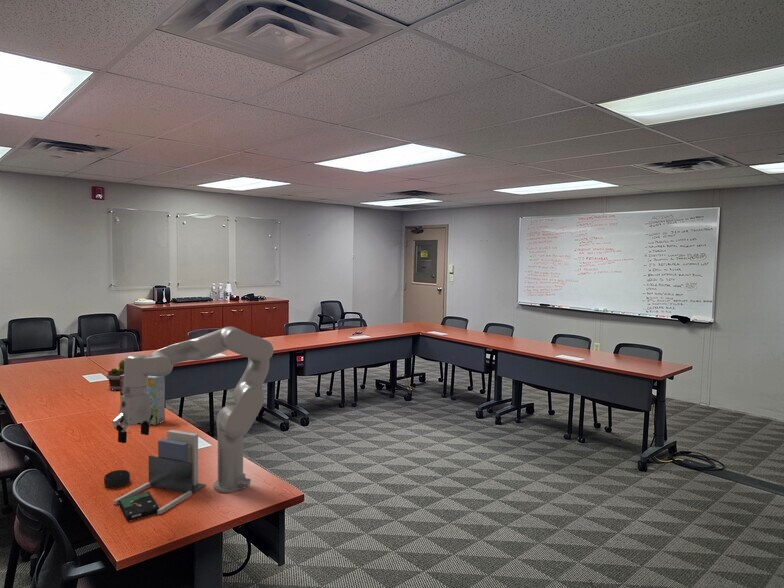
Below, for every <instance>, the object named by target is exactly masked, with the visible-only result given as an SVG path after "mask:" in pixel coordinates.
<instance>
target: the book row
mask: <svg viewBox="0 0 784 588" xmlns="http://www.w3.org/2000/svg"><path fill="white" fill-rule="evenodd" d="M157 455H158V456H157V457H161V458H167V459H173V460H178V461H184V462H189V463H192V486H195V485H197V484H198V483H199V434H198V433H194V432H188V431H184V430H183V431H182V430H176V429H170V430H167V431H166V439H165V438H161V439H159V440H158V441H157Z"/></svg>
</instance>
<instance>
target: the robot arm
mask: <svg viewBox="0 0 784 588" xmlns="http://www.w3.org/2000/svg"><path fill="white" fill-rule="evenodd" d="M226 351H231V352H232V353H235V354H237V355H240V356H242V357H246V358H247V365H246V368H245V370H244V372H243V374H242V375H241V377H240V379H239V380H238V382H237V384H236V386H235V387H234V390H233V392H232V399H233V401H234V402H235V405H231V404H230V405H229V404H228V405H225V406H223V407H222V408H221V409H220V410H219V411H218V413H217V415H216V432H217V433H216V435H217V480H215V481H214V483H213V485H212V486H213V487H212V488H213V490H214V491H216V492H218V493H225V494H227V493H228V494H229V493H230V494H231V493H235V492H240V491H241V490H244V488H246V487H250V485H251V481H252V479H251V478H247V477H246V473H244V436H245V435H246V434H247V433H248V432H249V431H250V429H251V428H252V426H253V424H254V422H255V420H257V419H256V418H257V417H258V415H259V413H260V411H261V410H262V408H263V405H264V402H265V393H264V391H263V390H262V389H261V388H262V386H263V384H264V382H265V380H266V378H267V375H268V373H269V370H270V359H271V358H272V357H273V355H274V347H273V345H272V343H271V342H270V341H269V340H268V339H264V338H262V337H260V336H257V335H256V336H255V335H253V334H250V333H248V332H246V331H245V330H242V329H240V328H237V327H235V326H225V327H222V328H220V329H216V330H215V331H212V332H210V333H206V334H204V335H201V336H199V337H195V338H192V339H191V338H190V339H188V340H185V341H184V340H183V341H181V342H177V343H174V344H171V345H168V346H165V347H163V348H160V349H157V350H155V351H153V352H151V353H150V354H149V355H148V356H147V355H145V354H130V355H127V356H126V357H125V360H124V361H125V363H124V390H122V394H123V396H122V399H121V404H120V403H119V404H120V405H119V412H118V416H116V417H115V418H114V419H113V420H112V421H111V423H112V425H113V428H114V429H115V430H116V432H117V442H118V443H122V444H126V443H127V441H128V440H127V436H128V432H127V431H126V430H127V428H128V427H129V426H134V425H139V424H138V423H141V422H143V423H141V424H140V434H141V435H144V436H149V435H150V425H149V424H150V423H151V419H152V418H153V415H154V412H155V409H152V408H151V402H150V395H149V392H147V387H148V376H158V377H161V376H165V377H166V376H167V375H169V374H170V373H172V371H173V368H174V365H177V364H180V363H183V362H188V361H204V360H206V359H209V358H211V357H213V356H216V355H219V354H222V353H224V352H226Z"/></svg>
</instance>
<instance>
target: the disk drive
mask: <svg viewBox="0 0 784 588" xmlns="http://www.w3.org/2000/svg"><path fill="white" fill-rule="evenodd" d="M118 506H119V509H120V510H121V512H122V515H123V516H124V518H126V519H125V520H126V522H127V521H128V522H131V521H130V520H132V521H135V520H134V519H136V520H139V519H142V518H141V517H143V518H146V517H145V516H147V517H150V516H153V514H154V515H157V514H156V513H157V510H158V509H160V507H159V505H158V503H157V502H156V500H155V498H154V497H153V496H152V494H151V492H150V491H145V492H142V493H141V492H140V493H138V494H136V495H134V496H131V497H127V498H123V499H122V498H121V499H120V500H119V504H118ZM149 515H150V516H149ZM138 518H139V519H138Z"/></svg>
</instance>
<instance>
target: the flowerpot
mask: <svg viewBox="0 0 784 588" xmlns="http://www.w3.org/2000/svg"><path fill="white" fill-rule="evenodd" d="M124 363H125V359H124V358H123V359H121V360H120V361H119V362H118V367H117V368H115V367H114V368H111V369H110V371H109V372H108V373H107V374H106V379H107V380H108V383H109V385H108V387H109V389H110V390H111V389H113V390H117V391H119V390H120V375H124Z"/></svg>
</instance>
